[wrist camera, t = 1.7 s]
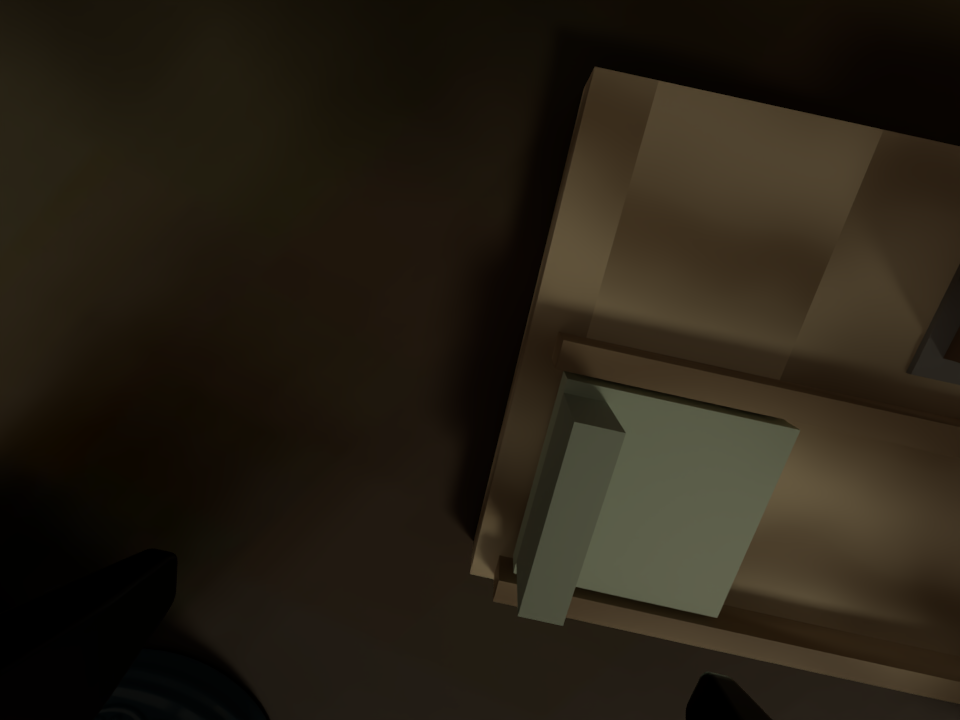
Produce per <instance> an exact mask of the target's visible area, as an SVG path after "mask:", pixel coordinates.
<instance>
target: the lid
mask: <svg viewBox="0 0 960 720" xmlns="http://www.w3.org/2000/svg"><path fill="white" fill-rule="evenodd" d="M799 432H800V430H799V429H798V428H796V427H795V426H793V425H792V424H790V423H788V422H787V421H785V420H784V419H781V418H776V417H771V416H767V415H762V414H758V413H753V412H749V411H744V410H740V409H735V408H731V407H726V406H721V405H717V404H712V403H708V402H703V401H699V400H694V399H690V398H685V397H680V396H676V395H671V394H667V393H662V392H658V391H653V390H649V389H644V388H639V387H635V386H630V385H626V384H621V383H617V382H612V381H608V380H603V379H599V378H594V377H589V376H585V375H580V374H576V373H571V372H567V371H563V375H562V378H561V382H560V386H559V389H558V393H557V397H556V400H555V404H554V408H553V411H552V415H551V419H550V422H549V426H548V429H547V433H546V437H545V440H544V444H543V448H542V451H541V455H540V459H539V462H538V466H537V470H536V473H535V477H534V480H533V484H532V488H531V491H530V495H529V499H528V502H527V506H526V510H525V513H524V517H523V521H522V524H521V528H520V531H519V535H518V539H517V542H516V546H515V550H514V553H513V573H515V574H517V602H518V616H520V617H525V618H529V619H534V620H538V621H543V622H547V623H552V624H557V625H561V626H563V624H564V621H565V618H566V615H567V612H568V609H569V606H570V603H571V599H572V596H573V593H574V590H575V587H579V588H583V589H588V590H592V591H597V592H602V593H606V594H611V595H615V596H620V597H624V598H629V599H633V600H638V601H642V602H647V603H652V604H656V605H661V606H665V607H670V608H674V609H679V610H683V611H688V612H692V613H697V614H701V615H706V616H711V617H715V618H717V617H718V615H719V613H720V611H721V608H722V606H723V604H724V602H725V599H726V597H727V595H728V593H729V590H730V588H731V586H732V583H733V581H734V579H735V577H736V574H737V572H738V570H739V568H740V565H741V563H742V561H743V559H744V556H745V554H746V552H747V550H748V547H749V545H750V543H751V541H752V538H753V536H754V534H755V532H756V529H757V527H758V525H759V523H760V520H761V518H762V516H763V514H764V511H765V509H766V507H767V505H768V502H769V500H770V498H771V496H772V493H773V491H774V489H775V486H776V484H777V482H778V480H779V477H780V475H781V473H782V471H783V468H784V466H785V464H786V462H787V459H788V457H789V455H790V453H791V450H792V448H793V446H794V444H795V441H796V439H797V437H798V435H799Z"/></svg>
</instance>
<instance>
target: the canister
mask: <svg viewBox="0 0 960 720" xmlns="http://www.w3.org/2000/svg"><path fill="white" fill-rule="evenodd" d="M94 720H267V719H266V717H265V715H264V714H263V712H262V711H261V709H260V708H259V706H258V705H257V704H256V702H255V701H254V700H253V699H252V698H251V697H250V696H249V695H248V694H247V693H246V692H245V691H244V690H243V689H242V688H241V687H240V686H239V685H238V684H236V683H235V682H234V681H232V680H231V679H230V678H228V677H227V676H226V675H224V674H223V673H221V672H219V671H218V670H216V669H214V668H212V667H210V666H208V665H206V664H204V663H202V662H200V661H197V660H195V659H192V658H190V657H187V656H183V655H180V654H176V653H172V652H167V651H162V650H155V649H142V650H141V652H140V653H139V655H138V656H137V658H136V659H135V661H134V662H133V664H132V665H131V667H130V668H129V670H128V671H127V673H126V674H125V676H124V677H123V679H122V680H121V682H120V683H119V685H118V686H117V688H116V689H115V691H114V692H113V694H112V695H111V696H110V698H109V699H108V701H107V702H106V704H105V705H104V706H103V708H102V709H101V711H100V712H99V713H98V715H97V716H96V717H95V718H94Z"/></svg>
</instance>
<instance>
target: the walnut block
mask: <svg viewBox="0 0 960 720" xmlns="http://www.w3.org/2000/svg"><path fill="white" fill-rule="evenodd" d="M943 359H947V360H951V361H954V362H958V363H960V326H959V328H958V330H957V332H956V334H955V336H954V338H953V340H952V342H951V344H950V346H949V348H948V350H947V352H946V354H945V356H944V357H943Z"/></svg>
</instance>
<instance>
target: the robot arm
mask: <svg viewBox="0 0 960 720" xmlns="http://www.w3.org/2000/svg"><path fill="white" fill-rule="evenodd" d="M176 583H177V556H176V555H175V554H174V553H172V552H168V551H163V550H159V549H147V550H144V551H142V552H139V553H137V554H135V555H133V556H130V557H128V558H126V559H123V560H121V561H119V562H116V563H114V564H112V565H110V566H107V567H105V568H103V569H100V570H98V571H96V572H93V573H91V574H89V575H87V576H84V577H82V578H80V579H77V580H75V581H73V582H70V583H68V584H66V585H64V586H61V587H59V588H57V589H54V590H52V591H50V592H48V593H45V594H43V595H41V596H38V597H36V598H34V599H31V600H29V601H27V602H25V603H22V604H20V605H18V606H15V607H13V608H11V609H8V610H6V611H4V612H2V613H0V720H94V718H95V717H96V716H97V715H98V713H99V712H100V711H101V709H102V708H103V706H104V705H105V704H106V702H107V701H108V699H109V698H110V696H111V695H112V694H113V692H114V691H115V689H116V688H117V686H118V685H119V683H120V682H121V680H122V679H123V677H124V676H125V674H126V673H127V671H128V670H129V668H130V667H131V665H132V664H133V662H134V661H135V659H136V658H137V656H138V655H139V653H140V652H141V650H142V649H143V647H144V646H145V644H146V643H147V641H148V640H149V638H150V637H151V635H152V634H153V632H154V631H155V629H156V628H157V627H158V625H159V624H160V622H161V621H162V619H163V618H164V616H165V615H166V613H167V612H168V610H169V608H170V607H171V605H172V603H173V601H174V598H175V594H176ZM686 720H772V719H771V718H770V717H769V716H768V715H767V714H766V713H765V712H764V711H763V710H762V709H761V708H760V706H759V705H758V704H757V703H756V702H755V701H754V700H753V699H752V698H751V697H750V696H749V695H748V694H747V693H746V692H745V691H744V690H743V689H742V688H741V687H740V686H739V685H738V684H737V683H736V682H735V681H734V680H733V679H732V678H730V677H728V676H725V675H721V674H716V673H712V672H705V673H704V674H702V675H701V677H700V679H699V681H698V683H697V685H696V687H695V689H694V691H693V693H692V695H691V697H690V700H689V702H688V704H687V708H686Z"/></svg>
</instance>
